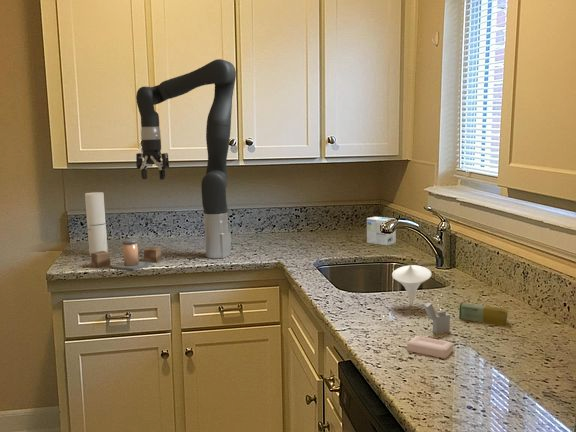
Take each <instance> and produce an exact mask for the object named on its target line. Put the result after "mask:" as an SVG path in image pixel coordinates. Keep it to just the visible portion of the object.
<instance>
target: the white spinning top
mask: <svg viewBox="0 0 576 432" xmlns="http://www.w3.org/2000/svg"><path fill="white" fill-rule="evenodd" d="M391 276H392V278H393V279H394V280H395V281H397V282H399V283H400V285H402V286H403V287H404V289H405V291H406V294H407V297H408V303H409V306H411V307H412V306H413V305H414V299H415V297H416V293H417V291H418V288H419V287H420V286H421V284H423V283H425V282H426V281H428V280H429V279H431V277H432V272H431V270H430V269H429V268H427V267H424V266H421V265H414V264H411V265H404V266H400V267H398V268H396V269H395V270H393V272H392V273H391Z"/></svg>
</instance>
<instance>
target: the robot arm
mask: <svg viewBox="0 0 576 432" xmlns="http://www.w3.org/2000/svg"><path fill="white" fill-rule="evenodd" d="M236 78H237V71H236V68H235V66H234V64H233V63H232V62H231V61H227V60H224V59H222V58H219V59H214V60H212V61H210V62H209V63H205V65H203V66H201V67H199V68H197V69H195V70H192V71H191V72H188V73H185V74H182V75H179V76H175V77H173V78H172V77H171V78H169V79H166V80H163V81H162V82H160V83H159V84H157V85H154V86H141V87H139V88H138V89H137V91H136V95H135V97H136V98H135V99H136V104H137V105H136V106H137V109H138V112H139V115H140V127H141V128H140V139H141V150H142V152H138V153H136V154H135V155H136V159H135V160H136V164H135V165H136V169H139V170H140V172H141V178H142V180H148V170H147V168H148V166H150V165H155V166H156V167H157V168H158V172H159V180H161V181H163V180H165V178H166V169H169V168H170V161H169V154H168V153H167V152H165V153H164V152H163V153H162V152H161V151H162V137H161V136H162V135H161V134H162V133H161V127H160V116H159V113H158V112H157V111H156V110H155V107H154V106H155V105H158V104H161V103H163V102H165V101H168V100H171V99H174V98H177V97H180V96H182V95H186V94H187V93H189V92H191V91H193V90H195V89H197V88H199V87H202V86H208V85H214V96H213V100H212V104H211V107H210V108H209V113H208V114H207V119H206V128H205V129H206V130H205V131H206V132H205V140H206V150H207V165H206V171H205V175H204V176H203V178H202V180H201V186H200V187H201V200H202V201H201V202H202V207H203V220H204V221H203V225H204V227H203V228H204V230H203V231H204V247H205V248H204V249H205V251H204V252H205V257H206V258H208V259H209V258H210V259H224V258H226V257H229V256H232V240H231V231H229V221H228V220H229V219H228V218H229V217H228V216H229V215H228V205H227V203H228V202H227V189H226V188H227V186H228V174H227V158H228V154H229V147H230V141H231V140H230V138H231V131H232V130H231V129H232V127H231V126H232V110H233V109H232V108H233V96H234V90H235V83H236Z"/></svg>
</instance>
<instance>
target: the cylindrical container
mask: <svg viewBox="0 0 576 432" xmlns="http://www.w3.org/2000/svg"><path fill="white" fill-rule="evenodd" d="M104 196H105V195H104V192H103V191H102V192H100V191H97V192H95V191H94V192H86V193H84V198H85V199H84V200H85V211H86V212H85V214H86V224H87V225H86V227H87V239H88V250H89V251H88V253H89V256H90V257H91V253H94V252H99V251H106V252H109V250H108V249H109V248H108V236H107V223H106V209H105V208H106V207H105V197H104Z"/></svg>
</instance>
